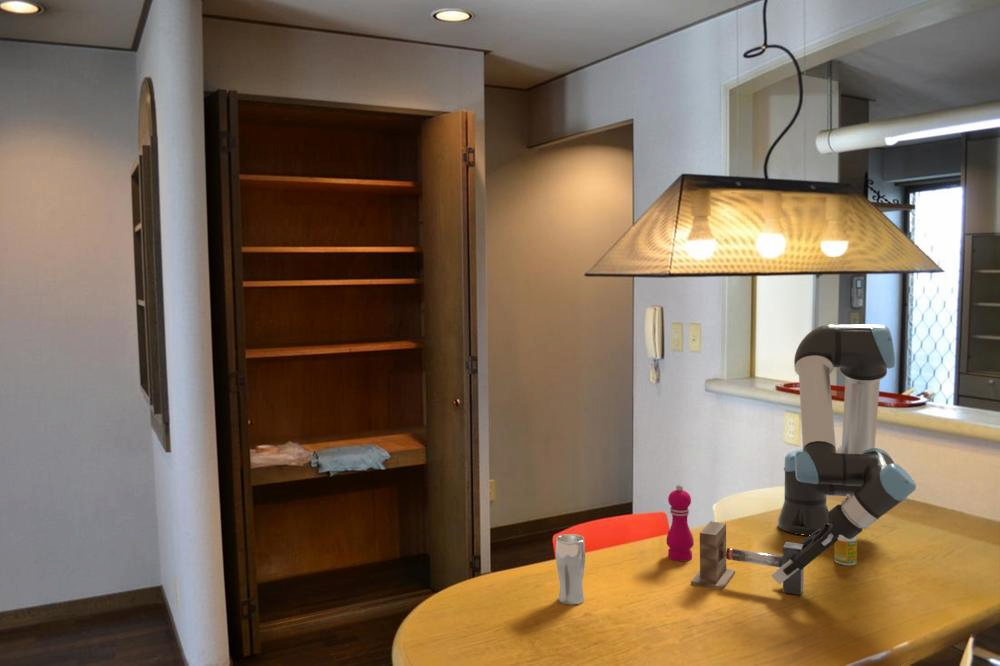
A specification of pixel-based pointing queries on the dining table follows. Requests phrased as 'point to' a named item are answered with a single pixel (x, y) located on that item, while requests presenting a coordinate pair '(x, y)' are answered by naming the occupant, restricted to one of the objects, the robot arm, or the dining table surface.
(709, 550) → the wooden arch frame
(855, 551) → the supplement bottle
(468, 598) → the dining table surface
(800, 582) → the metal rod with plate
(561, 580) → the beer glass
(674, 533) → the pepper mill
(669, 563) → the dining table surface
